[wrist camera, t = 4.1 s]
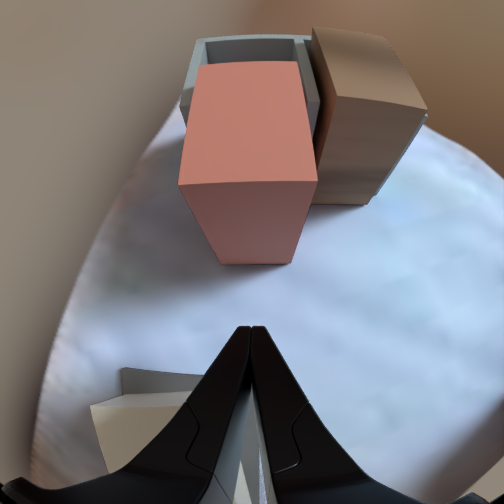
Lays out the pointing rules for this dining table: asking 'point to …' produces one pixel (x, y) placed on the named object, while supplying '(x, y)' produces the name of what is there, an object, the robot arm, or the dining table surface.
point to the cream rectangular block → (141, 429)
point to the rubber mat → (177, 382)
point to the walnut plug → (359, 113)
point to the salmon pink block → (249, 160)
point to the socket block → (262, 50)
